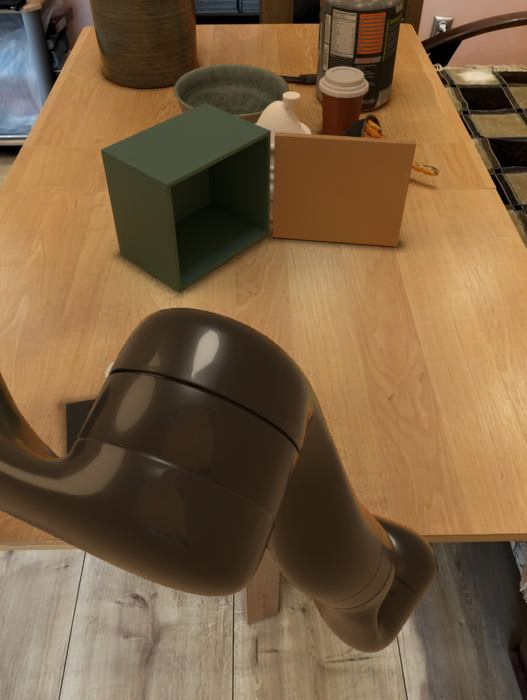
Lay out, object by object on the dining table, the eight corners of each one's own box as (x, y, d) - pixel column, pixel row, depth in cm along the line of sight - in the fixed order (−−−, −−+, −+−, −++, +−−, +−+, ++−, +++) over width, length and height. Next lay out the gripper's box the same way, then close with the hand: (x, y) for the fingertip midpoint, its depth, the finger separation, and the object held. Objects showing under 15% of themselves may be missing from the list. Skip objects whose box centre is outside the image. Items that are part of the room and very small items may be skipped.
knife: (212, 76, 146) (209, 83, 142) (212, 68, 145) (208, 75, 141) (336, 77, 144) (336, 85, 140) (336, 69, 143) (337, 76, 139)
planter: (194, 90, 138) (187, -13, 124) (92, 89, 138) (72, -15, 124) (203, 51, 154) (198, -45, 139) (111, 50, 154) (96, -46, 140)
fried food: (353, 117, 119) (449, 107, 109) (355, 179, 122) (449, 174, 112) (330, 116, 112) (431, 105, 102) (333, 182, 115) (431, 176, 105)
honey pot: (324, 187, 111) (332, 82, 98) (301, 227, 102) (307, 118, 89) (254, 173, 114) (253, 70, 101) (226, 211, 105) (222, 104, 92)
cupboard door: (276, 215, 104) (279, 115, 92) (396, 224, 103) (414, 123, 91) (272, 237, 100) (274, 135, 88) (397, 246, 98) (416, 144, 86)
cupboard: (269, 234, 101) (270, 130, 89) (179, 292, 91) (166, 184, 78) (211, 203, 107) (205, 102, 95) (120, 255, 97) (100, 149, 85)
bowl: (250, 104, 133) (249, 55, 126) (308, 146, 121) (311, 93, 114) (160, 129, 125) (154, 77, 118) (212, 176, 113) (209, 122, 106)
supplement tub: (349, 76, 144) (362, -57, 126) (404, 99, 136) (427, -40, 117) (299, 96, 136) (305, -43, 118) (354, 121, 128) (370, -23, 110)
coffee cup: (344, 152, 119) (350, 88, 111) (305, 137, 123) (309, 74, 115) (371, 135, 124) (380, 72, 116) (333, 121, 128) (339, 59, 120)
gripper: (283, 402, 62) (169, 324, 69) (173, 497, 54) (59, 399, 62) (281, 448, 67) (176, 372, 75) (180, 541, 59) (75, 445, 67)
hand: (123, 384), depth 68 cm, fingers open, 8 cm apart
